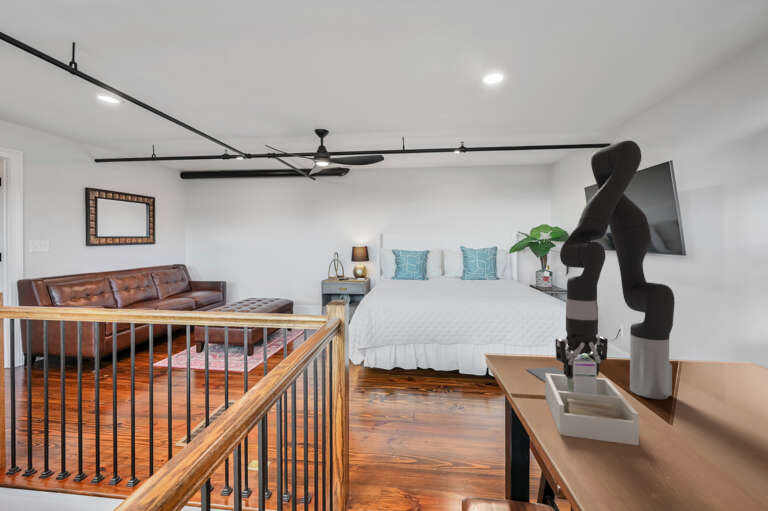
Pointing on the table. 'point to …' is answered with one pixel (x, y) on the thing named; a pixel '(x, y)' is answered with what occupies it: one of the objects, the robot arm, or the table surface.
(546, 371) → the rubber mat
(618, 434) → the white divided tray
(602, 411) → the offcut stack
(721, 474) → the table surface
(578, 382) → the syrup box
